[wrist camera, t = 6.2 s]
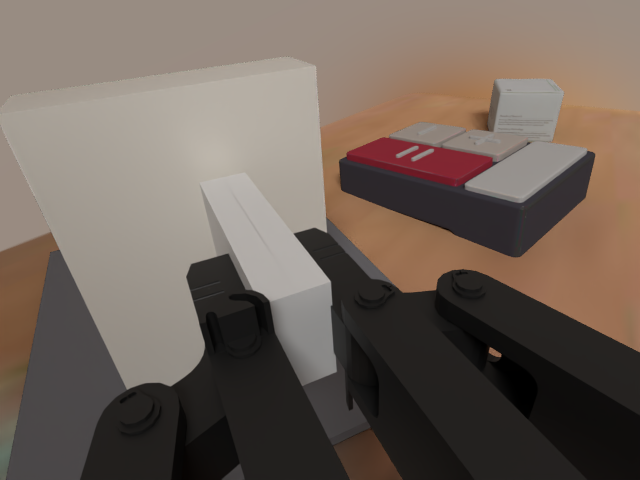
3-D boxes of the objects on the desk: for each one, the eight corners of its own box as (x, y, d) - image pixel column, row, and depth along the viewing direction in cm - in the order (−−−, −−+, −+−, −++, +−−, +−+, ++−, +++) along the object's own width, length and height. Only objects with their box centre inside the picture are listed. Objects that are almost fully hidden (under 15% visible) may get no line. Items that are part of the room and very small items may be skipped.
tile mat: (-10, 607, 12) (-18, 601, 12) (53, 258, 28) (50, 252, 28) (477, 376, 18) (478, 368, 18) (299, 195, 34) (298, 189, 34)
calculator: (419, 117, 39) (600, 141, 29) (418, 161, 41) (587, 198, 31) (335, 150, 33) (527, 196, 23) (339, 200, 35) (517, 262, 25)
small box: (553, 143, 40) (566, 90, 38) (490, 142, 42) (498, 91, 39) (542, 125, 45) (553, 77, 42) (486, 124, 46) (492, 78, 44)
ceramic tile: (136, 408, 17) (-6, 114, 11) (132, 362, 19) (12, 94, 13) (333, 333, 20) (315, 65, 14) (311, 300, 22) (286, 55, 16)
